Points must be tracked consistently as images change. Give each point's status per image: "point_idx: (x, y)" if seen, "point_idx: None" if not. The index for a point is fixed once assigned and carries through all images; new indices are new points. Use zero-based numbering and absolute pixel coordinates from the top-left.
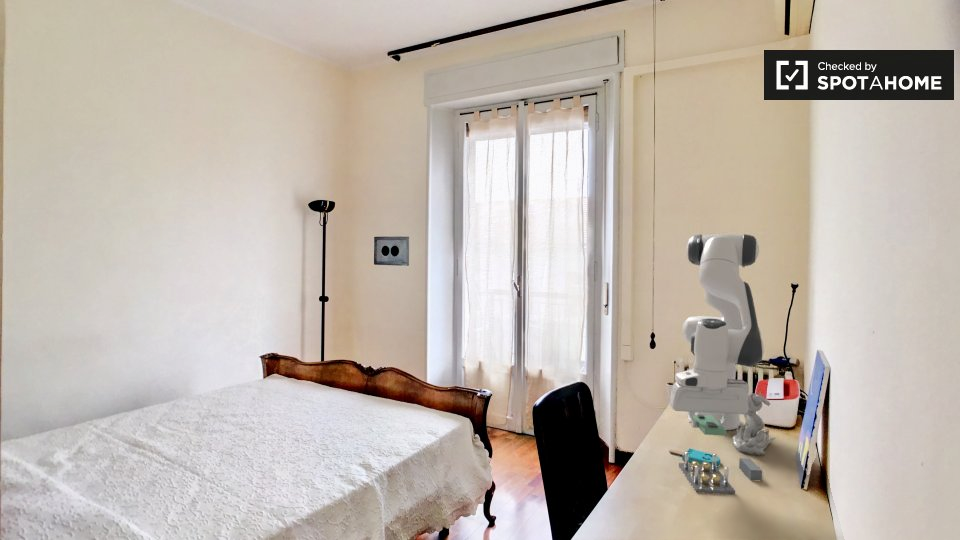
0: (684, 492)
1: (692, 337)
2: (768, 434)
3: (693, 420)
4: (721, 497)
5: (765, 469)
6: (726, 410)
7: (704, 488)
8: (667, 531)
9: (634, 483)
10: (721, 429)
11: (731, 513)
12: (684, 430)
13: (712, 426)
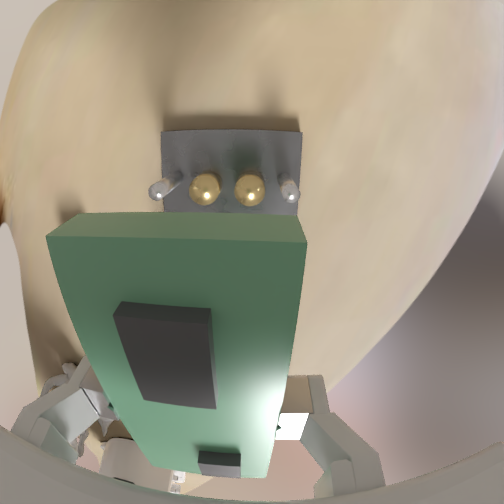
0: (340, 130)
1: None
2: (41, 394)
3: (331, 420)
4: (220, 102)
5: (60, 303)
6: (8, 459)
7: (269, 134)
8: None
9: (457, 192)
10: (87, 251)
11: (230, 9)
12: None
13: (175, 314)
